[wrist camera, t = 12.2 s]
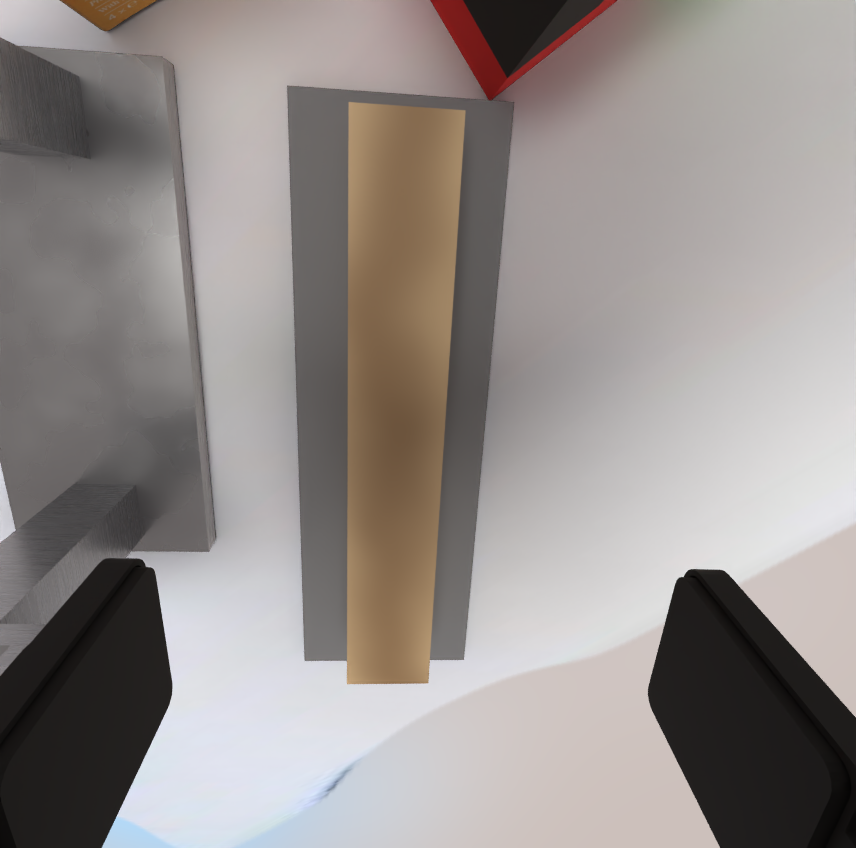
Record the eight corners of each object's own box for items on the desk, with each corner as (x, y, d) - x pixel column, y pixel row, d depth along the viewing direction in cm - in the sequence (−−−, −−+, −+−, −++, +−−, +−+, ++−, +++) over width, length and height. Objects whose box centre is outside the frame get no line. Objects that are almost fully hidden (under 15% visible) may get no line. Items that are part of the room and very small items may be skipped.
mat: (510, 105, 20) (513, 102, 20) (462, 651, 28) (463, 659, 28) (290, 89, 20) (287, 85, 19) (306, 652, 28) (304, 660, 27)
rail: (453, 130, 20) (465, 110, 17) (423, 628, 27) (428, 683, 24) (355, 123, 20) (348, 102, 16) (352, 628, 27) (347, 684, 24)
